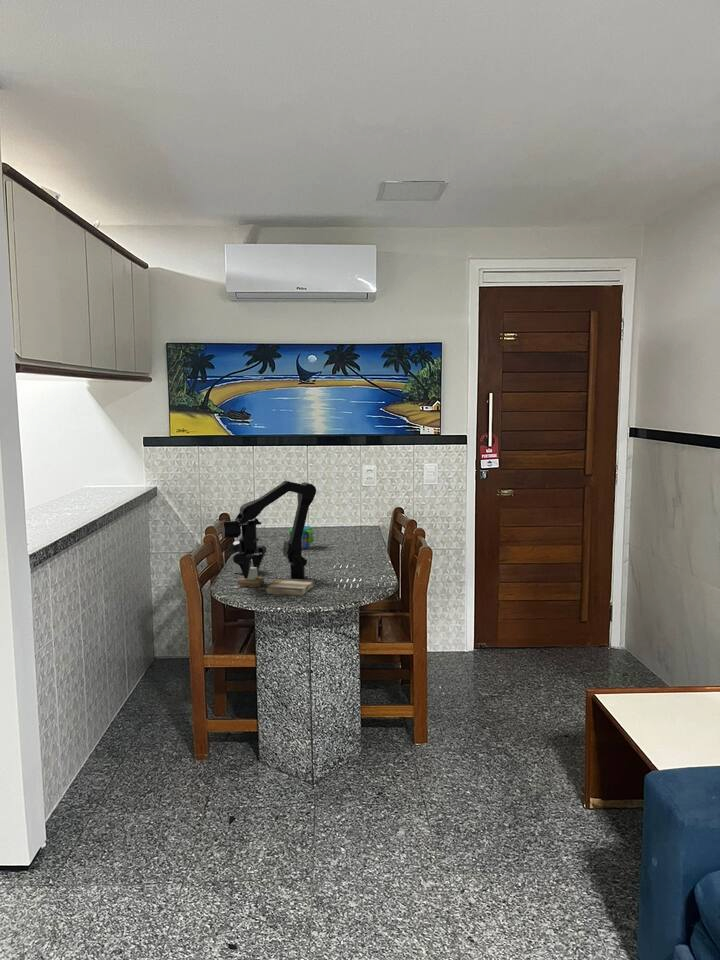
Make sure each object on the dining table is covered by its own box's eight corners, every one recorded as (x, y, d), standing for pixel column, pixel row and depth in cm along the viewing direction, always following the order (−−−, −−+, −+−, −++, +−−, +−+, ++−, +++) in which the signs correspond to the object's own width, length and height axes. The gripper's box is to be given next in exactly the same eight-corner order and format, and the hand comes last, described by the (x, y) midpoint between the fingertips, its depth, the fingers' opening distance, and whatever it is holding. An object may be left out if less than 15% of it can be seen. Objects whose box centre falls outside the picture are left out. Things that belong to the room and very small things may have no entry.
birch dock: (281, 583, 282) (280, 578, 282) (314, 585, 278) (314, 580, 278) (266, 593, 269) (266, 587, 268) (301, 595, 265) (301, 589, 264)
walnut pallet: (243, 583, 285) (243, 575, 285) (264, 584, 283) (264, 577, 282) (237, 586, 280) (237, 579, 279) (258, 588, 277) (258, 580, 277)
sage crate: (247, 576, 283) (247, 566, 283) (257, 577, 282) (257, 567, 282) (244, 579, 279) (243, 569, 279) (253, 579, 278) (253, 569, 278)
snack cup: (283, 547, 351) (282, 527, 350) (301, 544, 358) (300, 524, 356) (301, 552, 339) (301, 531, 338) (319, 548, 346) (319, 528, 344)
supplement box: (252, 569, 308) (251, 540, 306) (250, 573, 300) (249, 543, 299) (235, 569, 307) (234, 540, 306) (233, 573, 300) (231, 544, 299)
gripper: (240, 531, 290) (242, 568, 292) (219, 540, 272) (221, 580, 274) (266, 532, 287) (267, 570, 289) (246, 541, 269) (248, 581, 271)
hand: (251, 575), depth 281 cm, fingers open, 9 cm apart
